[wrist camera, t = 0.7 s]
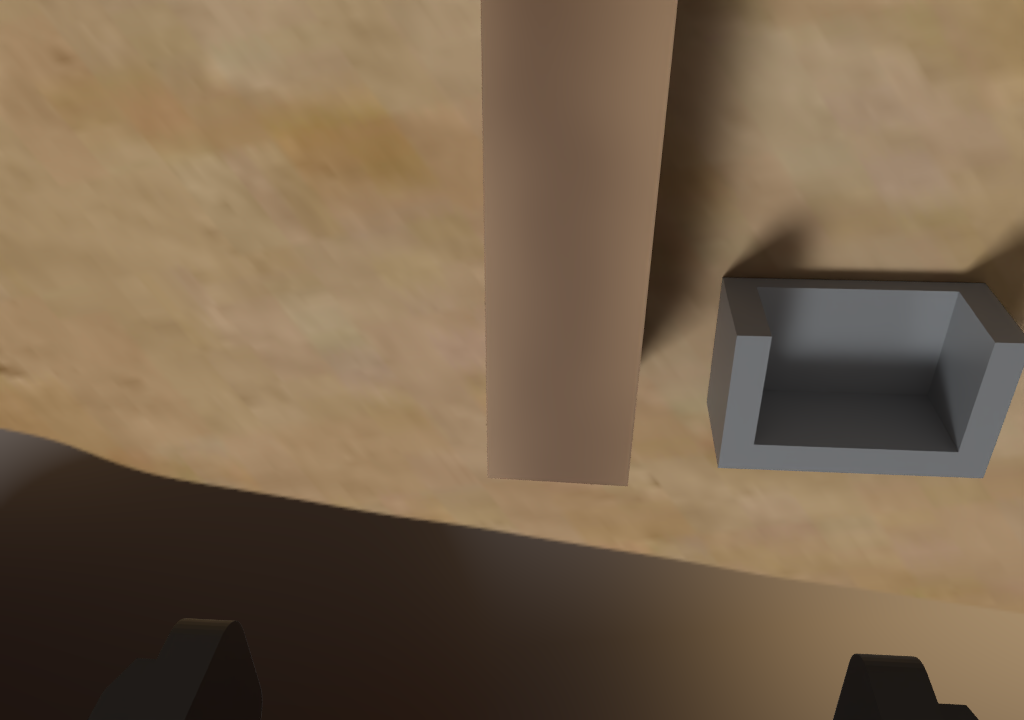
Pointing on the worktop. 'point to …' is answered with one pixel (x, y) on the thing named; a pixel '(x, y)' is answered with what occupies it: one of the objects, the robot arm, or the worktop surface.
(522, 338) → the brown wooden bar
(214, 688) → the robot arm
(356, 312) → the worktop surface
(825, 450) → the endcap
